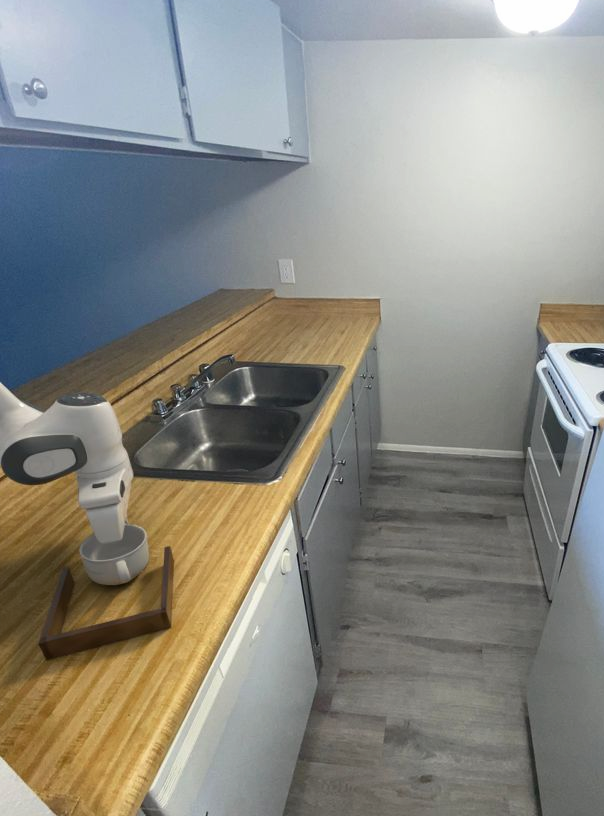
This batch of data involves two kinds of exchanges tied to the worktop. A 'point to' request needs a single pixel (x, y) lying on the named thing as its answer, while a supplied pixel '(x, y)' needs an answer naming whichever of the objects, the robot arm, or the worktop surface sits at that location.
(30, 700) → the worktop surface
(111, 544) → the teacup
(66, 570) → the dish corral
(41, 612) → the worktop surface
